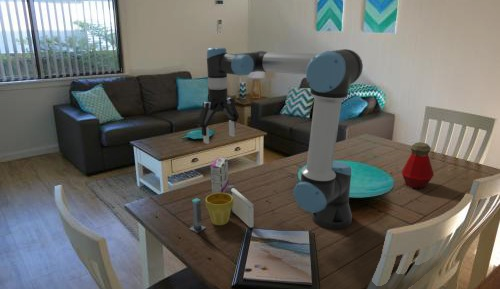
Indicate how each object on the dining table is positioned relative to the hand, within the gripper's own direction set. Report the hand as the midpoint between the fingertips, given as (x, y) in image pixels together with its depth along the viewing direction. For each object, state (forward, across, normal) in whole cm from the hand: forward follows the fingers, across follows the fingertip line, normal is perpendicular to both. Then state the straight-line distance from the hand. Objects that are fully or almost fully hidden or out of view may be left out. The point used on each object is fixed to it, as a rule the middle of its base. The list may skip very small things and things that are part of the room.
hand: (219, 139), depth 159 cm
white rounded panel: (+26, +6, +18) cm, 33 cm away
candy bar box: (+27, -1, -2) cm, 27 cm away
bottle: (+28, -74, +52) cm, 95 cm away
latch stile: (+27, +22, +13) cm, 37 cm away
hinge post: (+27, +4, +11) cm, 29 cm away
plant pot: (+27, +13, +14) cm, 33 cm away
